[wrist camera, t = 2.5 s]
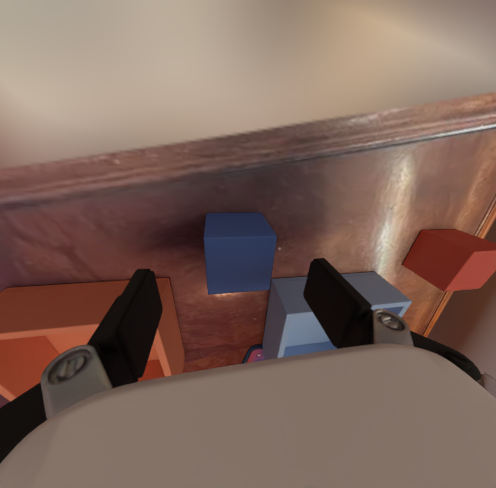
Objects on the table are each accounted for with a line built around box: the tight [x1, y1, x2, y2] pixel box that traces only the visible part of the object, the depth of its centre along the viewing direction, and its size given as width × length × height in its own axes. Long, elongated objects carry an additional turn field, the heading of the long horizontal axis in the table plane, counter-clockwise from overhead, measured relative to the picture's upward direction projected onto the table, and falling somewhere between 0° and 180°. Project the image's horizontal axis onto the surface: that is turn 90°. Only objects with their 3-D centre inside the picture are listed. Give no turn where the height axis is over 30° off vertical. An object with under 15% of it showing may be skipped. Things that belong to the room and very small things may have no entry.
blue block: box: [204, 213, 277, 295], centre depth 13 cm, size 4×4×4 cm
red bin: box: [0, 278, 185, 402], centre depth 16 cm, size 12×12×4 cm
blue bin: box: [262, 272, 412, 360], centre depth 20 cm, size 12×12×4 cm
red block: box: [402, 229, 496, 292], centre depth 18 cm, size 4×4×4 cm
